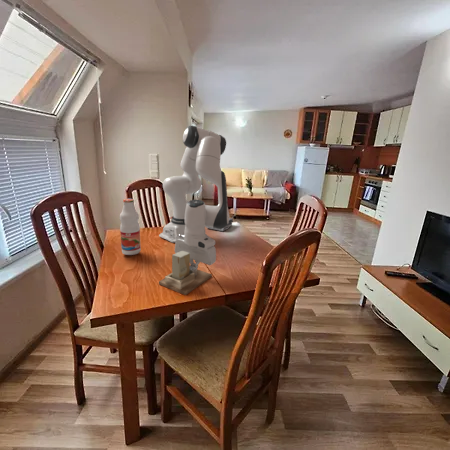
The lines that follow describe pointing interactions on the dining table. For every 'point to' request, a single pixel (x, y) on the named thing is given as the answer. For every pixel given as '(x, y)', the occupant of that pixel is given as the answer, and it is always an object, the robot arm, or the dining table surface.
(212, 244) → the robot arm
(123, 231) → the fruit juice
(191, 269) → the block
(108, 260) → the dining table surface
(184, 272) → the skincare box
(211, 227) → the towel
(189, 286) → the base
